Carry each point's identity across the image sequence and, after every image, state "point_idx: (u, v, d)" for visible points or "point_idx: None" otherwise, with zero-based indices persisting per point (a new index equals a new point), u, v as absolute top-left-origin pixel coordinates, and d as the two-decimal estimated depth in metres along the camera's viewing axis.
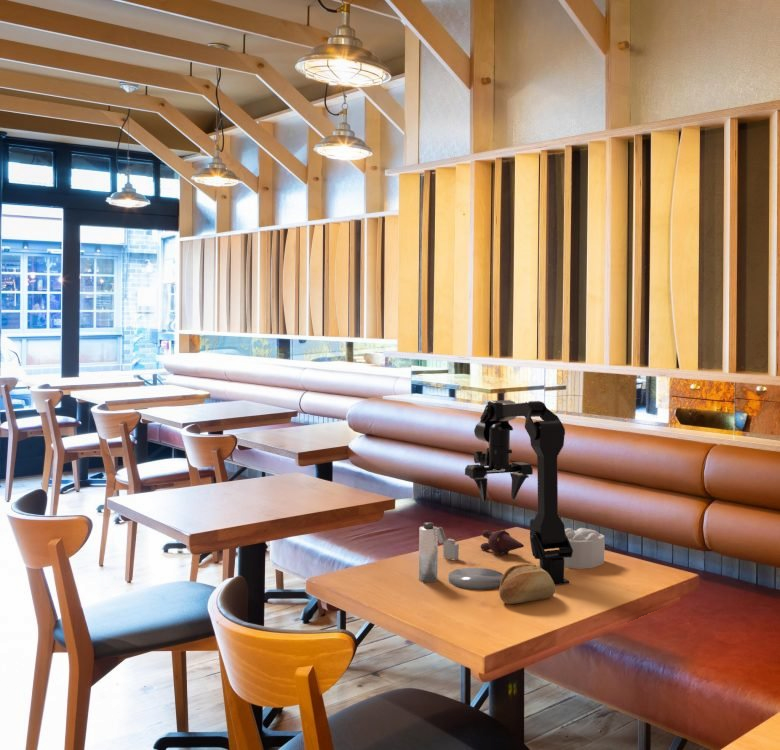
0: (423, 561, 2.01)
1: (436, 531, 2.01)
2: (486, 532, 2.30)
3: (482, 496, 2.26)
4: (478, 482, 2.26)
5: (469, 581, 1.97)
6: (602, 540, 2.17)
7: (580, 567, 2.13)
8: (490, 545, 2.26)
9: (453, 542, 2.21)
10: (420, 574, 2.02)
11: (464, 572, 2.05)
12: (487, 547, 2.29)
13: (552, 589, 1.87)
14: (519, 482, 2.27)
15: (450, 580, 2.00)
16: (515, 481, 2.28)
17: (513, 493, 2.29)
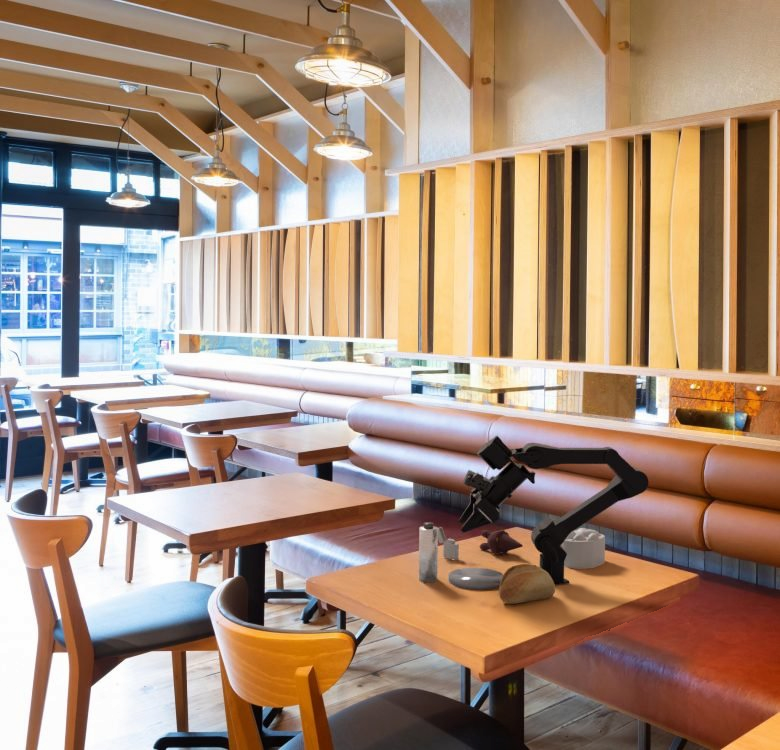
0: (423, 561, 2.01)
1: (436, 531, 2.01)
2: (485, 532, 2.30)
3: (467, 528, 1.97)
4: (475, 515, 1.96)
5: (469, 581, 1.97)
6: (603, 540, 2.17)
7: (580, 567, 2.13)
8: (489, 545, 2.26)
9: (453, 542, 2.21)
10: (420, 574, 2.02)
11: (464, 572, 2.05)
12: (486, 547, 2.29)
13: (552, 589, 1.87)
14: None
15: (450, 580, 2.00)
16: None
17: (466, 518, 2.06)
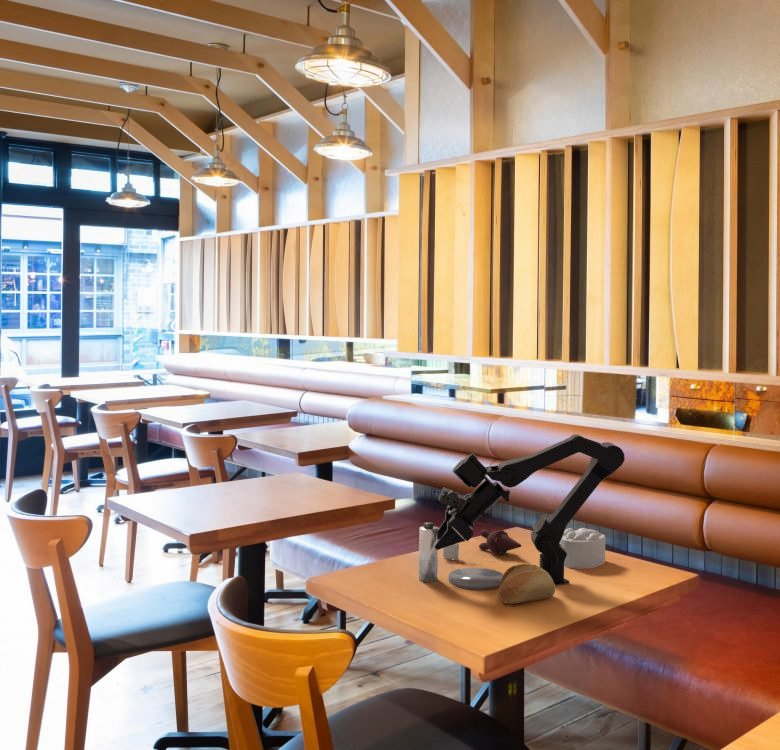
0: (423, 561, 2.01)
1: (436, 531, 2.01)
2: (484, 532, 2.30)
3: (441, 545, 1.97)
4: (449, 533, 1.96)
5: (469, 581, 1.97)
6: (603, 540, 2.17)
7: (581, 567, 2.13)
8: (488, 545, 2.26)
9: None
10: (420, 574, 2.02)
11: (464, 572, 2.05)
12: (485, 547, 2.29)
13: (552, 589, 1.87)
14: None
15: (450, 580, 2.00)
16: None
17: (440, 535, 2.07)
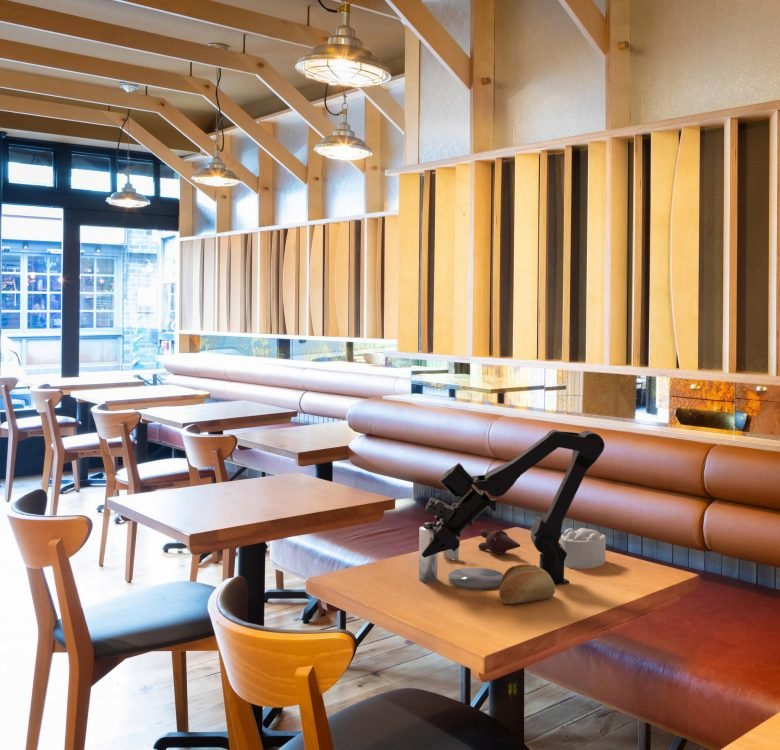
0: (423, 561, 2.01)
1: None
2: (484, 532, 2.30)
3: (428, 553, 1.99)
4: (436, 540, 1.98)
5: (469, 581, 1.97)
6: (604, 540, 2.17)
7: (581, 567, 2.13)
8: (487, 545, 2.26)
9: None
10: (420, 574, 2.02)
11: (464, 572, 2.05)
12: (485, 547, 2.29)
13: (552, 589, 1.87)
14: None
15: (450, 580, 2.00)
16: None
17: None
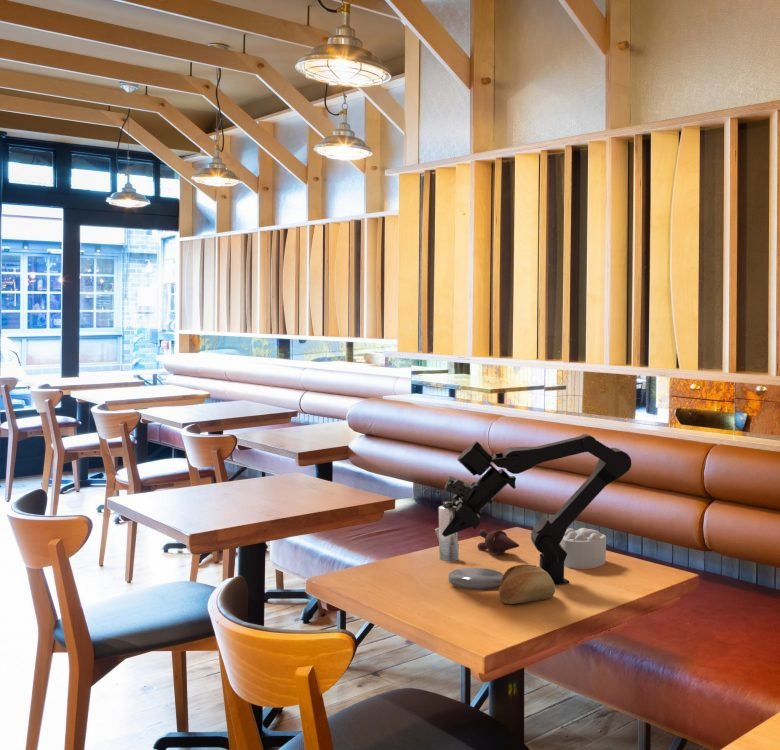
0: (443, 540, 2.00)
1: None
2: (483, 532, 2.30)
3: (448, 532, 1.99)
4: (456, 519, 1.98)
5: (469, 581, 1.97)
6: (604, 540, 2.17)
7: (582, 567, 2.13)
8: (486, 544, 2.26)
9: None
10: (440, 554, 2.01)
11: (464, 572, 2.05)
12: (484, 546, 2.29)
13: (552, 589, 1.87)
14: None
15: (450, 580, 2.00)
16: None
17: None
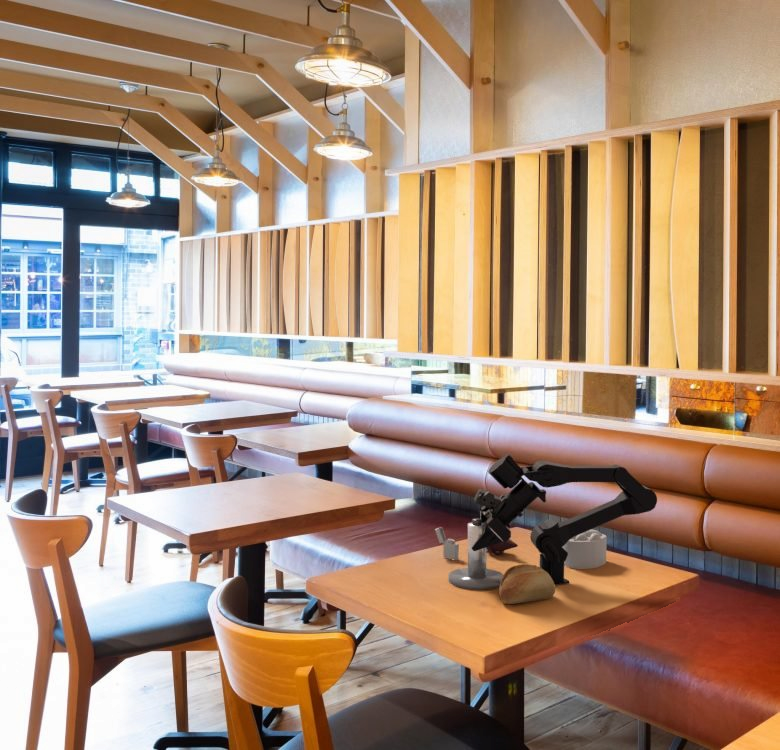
0: (472, 557, 2.00)
1: None
2: None
3: (478, 547, 1.96)
4: (486, 534, 1.95)
5: (469, 581, 1.97)
6: (605, 540, 2.17)
7: (583, 567, 2.13)
8: None
9: (453, 542, 2.21)
10: (469, 571, 2.01)
11: (464, 572, 2.05)
12: None
13: (552, 589, 1.86)
14: None
15: (450, 580, 2.00)
16: None
17: None
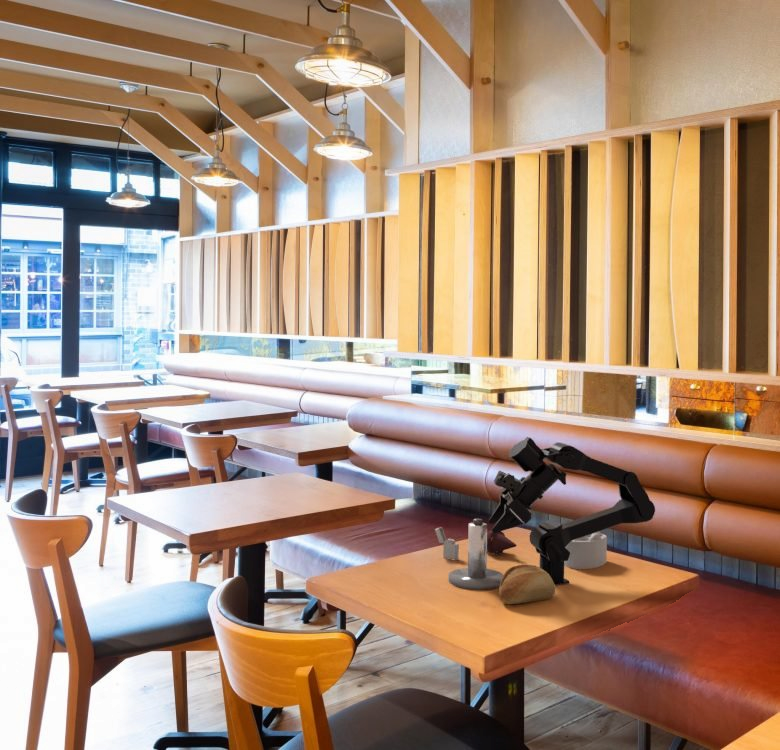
0: (473, 557, 2.00)
1: (486, 527, 2.00)
2: None
3: (498, 529, 1.96)
4: (507, 516, 1.95)
5: (469, 581, 1.97)
6: (605, 540, 2.17)
7: (583, 567, 2.13)
8: None
9: (453, 542, 2.21)
10: (469, 571, 2.01)
11: (464, 572, 2.05)
12: None
13: (552, 589, 1.86)
14: None
15: (450, 580, 2.00)
16: None
17: (495, 519, 2.06)
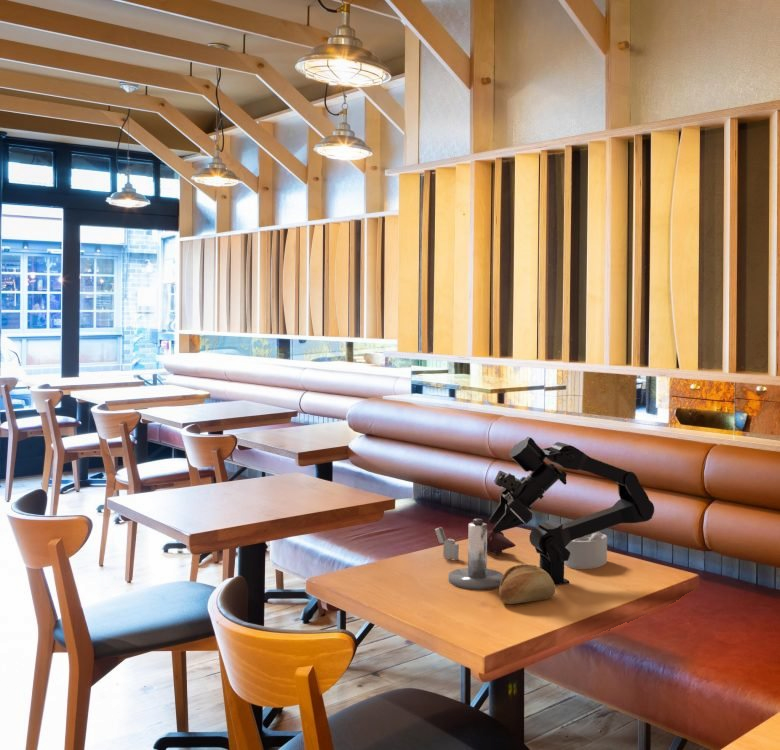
0: (473, 557, 2.00)
1: (486, 527, 2.00)
2: None
3: (499, 529, 1.96)
4: (507, 515, 1.95)
5: (469, 581, 1.97)
6: (605, 540, 2.17)
7: (583, 567, 2.13)
8: None
9: (453, 542, 2.21)
10: (469, 571, 2.01)
11: (464, 572, 2.05)
12: None
13: (552, 589, 1.86)
14: None
15: (450, 580, 2.00)
16: None
17: (496, 519, 2.05)
